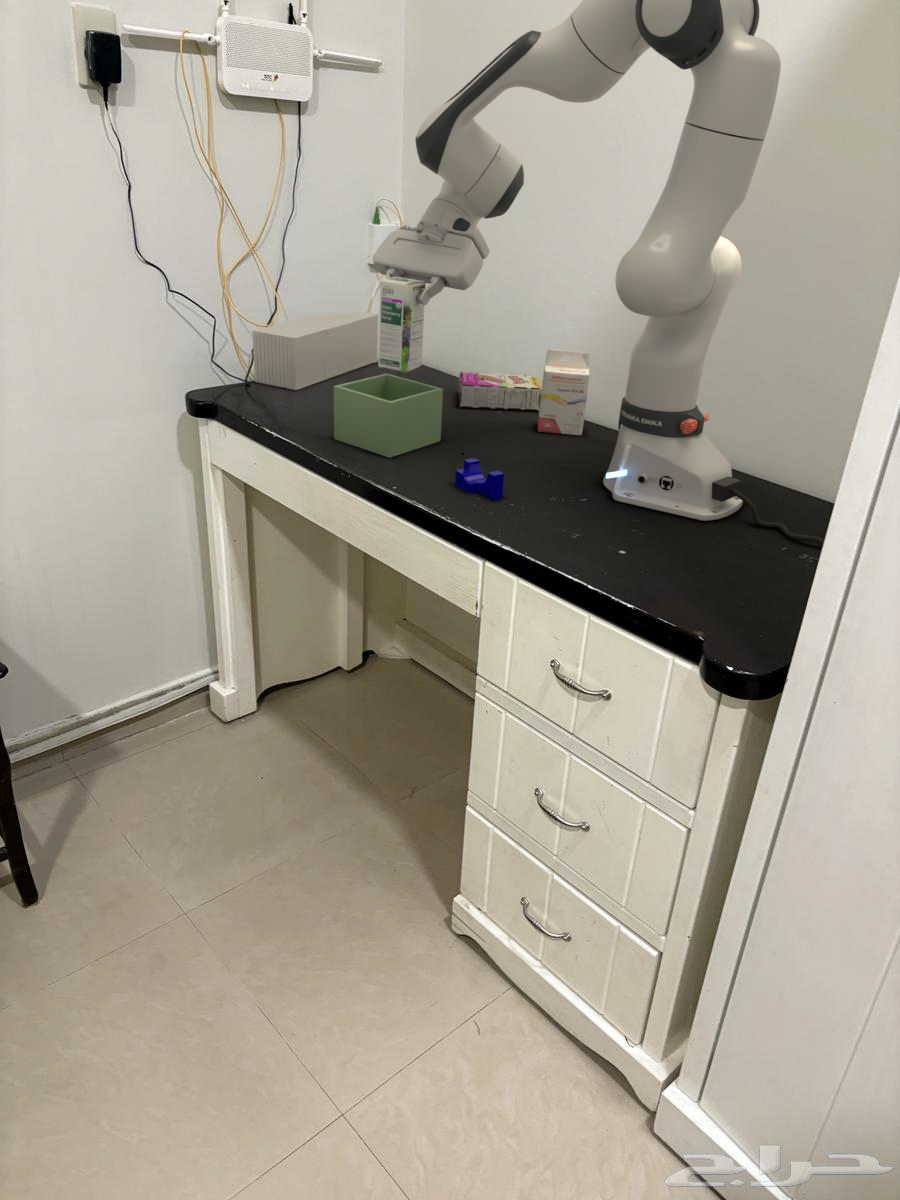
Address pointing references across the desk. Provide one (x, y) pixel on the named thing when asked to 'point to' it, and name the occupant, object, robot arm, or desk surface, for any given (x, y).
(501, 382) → the candy bar box
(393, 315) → the syrup box
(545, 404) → the ink cartridge box
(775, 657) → the desk surface
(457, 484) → the cable holder
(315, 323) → the stack of papers
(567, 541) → the desk surface
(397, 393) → the waste bin
